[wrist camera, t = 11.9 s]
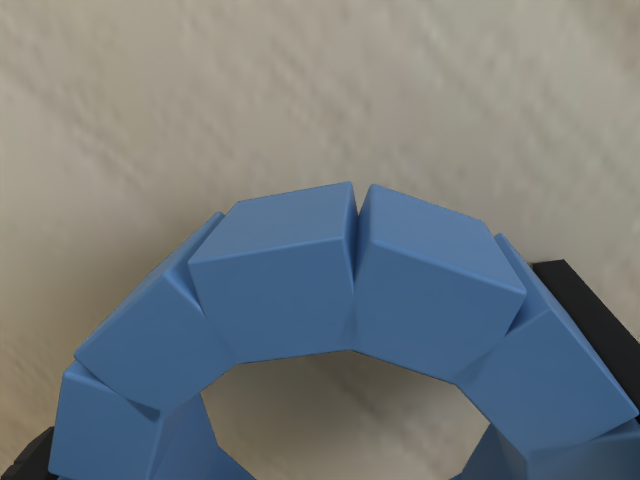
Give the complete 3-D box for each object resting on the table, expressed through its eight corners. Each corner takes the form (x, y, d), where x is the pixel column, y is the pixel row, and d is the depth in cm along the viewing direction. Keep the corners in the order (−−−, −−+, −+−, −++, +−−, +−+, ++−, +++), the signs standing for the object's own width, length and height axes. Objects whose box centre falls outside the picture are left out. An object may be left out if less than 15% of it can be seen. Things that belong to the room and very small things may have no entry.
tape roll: (565, 141, 9) (651, 185, 6) (582, 545, 12) (645, 691, 10) (61, 232, 11) (-49, 301, 8) (198, 569, 14) (155, 700, 11)
